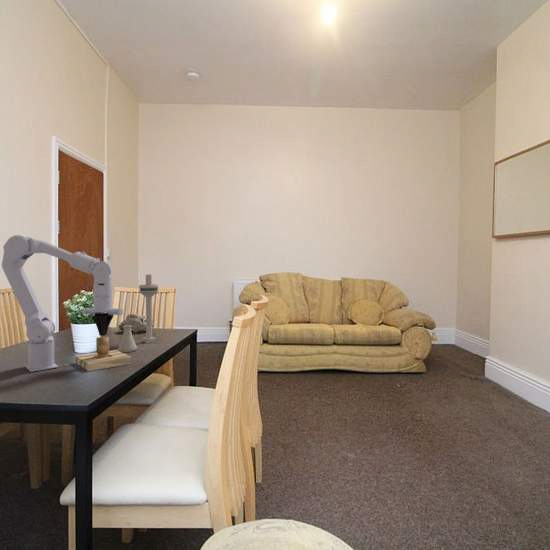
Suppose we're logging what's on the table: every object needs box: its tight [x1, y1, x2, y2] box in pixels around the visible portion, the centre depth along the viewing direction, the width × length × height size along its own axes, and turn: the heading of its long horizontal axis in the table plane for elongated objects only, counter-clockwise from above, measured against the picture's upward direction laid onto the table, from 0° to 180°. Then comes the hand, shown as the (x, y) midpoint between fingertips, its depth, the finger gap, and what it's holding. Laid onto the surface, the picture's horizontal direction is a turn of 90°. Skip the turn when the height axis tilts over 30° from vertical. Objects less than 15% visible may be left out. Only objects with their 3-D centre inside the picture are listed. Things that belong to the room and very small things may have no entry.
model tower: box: [138, 274, 160, 344], centre depth 169 cm, size 8×8×30 cm
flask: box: [117, 325, 138, 353], centre depth 151 cm, size 7×7×10 cm
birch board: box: [75, 349, 132, 372], centre depth 132 cm, size 14×14×2 cm
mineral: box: [118, 313, 155, 333], centre depth 194 cm, size 12×17×10 cm
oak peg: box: [95, 336, 110, 359], centre depth 131 cm, size 4×4×9 cm
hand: (103, 335), depth 131 cm, fingers closed
